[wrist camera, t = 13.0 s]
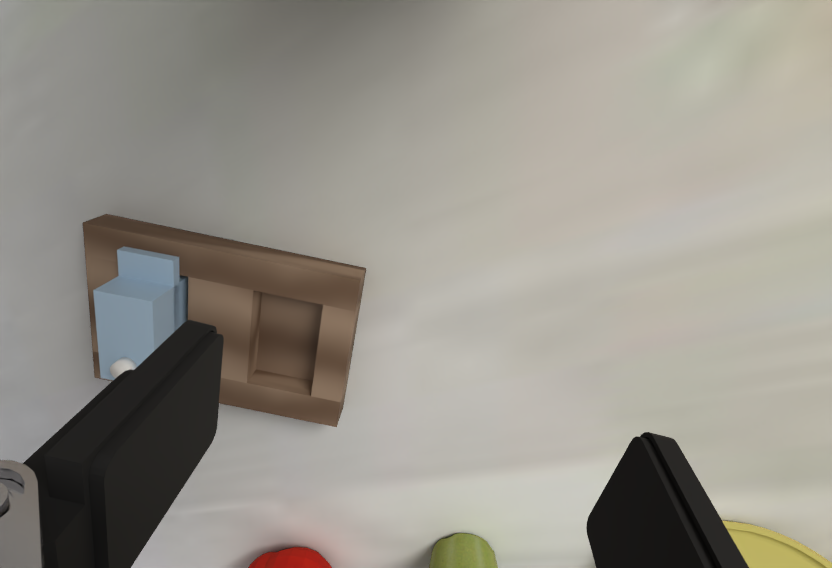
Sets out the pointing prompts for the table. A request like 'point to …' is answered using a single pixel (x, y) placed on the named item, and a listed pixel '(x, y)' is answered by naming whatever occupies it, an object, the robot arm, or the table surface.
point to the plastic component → (772, 548)
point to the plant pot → (462, 553)
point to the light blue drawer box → (138, 309)
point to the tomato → (291, 559)
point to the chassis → (252, 313)
